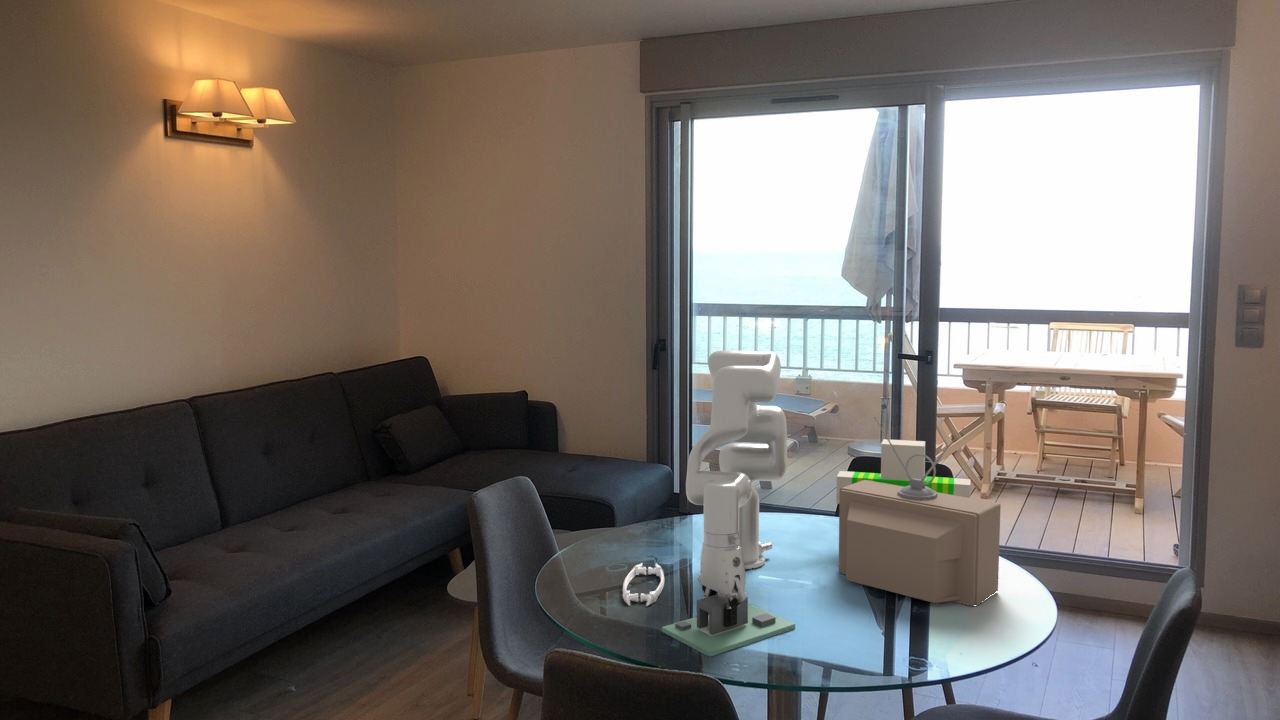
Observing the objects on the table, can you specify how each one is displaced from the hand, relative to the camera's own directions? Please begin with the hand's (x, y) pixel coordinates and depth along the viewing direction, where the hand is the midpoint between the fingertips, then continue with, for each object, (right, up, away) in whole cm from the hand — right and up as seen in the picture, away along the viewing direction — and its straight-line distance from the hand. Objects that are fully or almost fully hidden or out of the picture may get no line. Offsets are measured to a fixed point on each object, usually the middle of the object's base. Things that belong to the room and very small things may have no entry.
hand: (721, 620), depth 199 cm
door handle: (-16, 0, +28) cm, 33 cm away
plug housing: (0, -1, 0) cm, 1 cm away
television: (+48, +1, +28) cm, 55 cm away
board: (+2, -2, +1) cm, 3 cm away
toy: (+53, +4, +53) cm, 75 cm away
